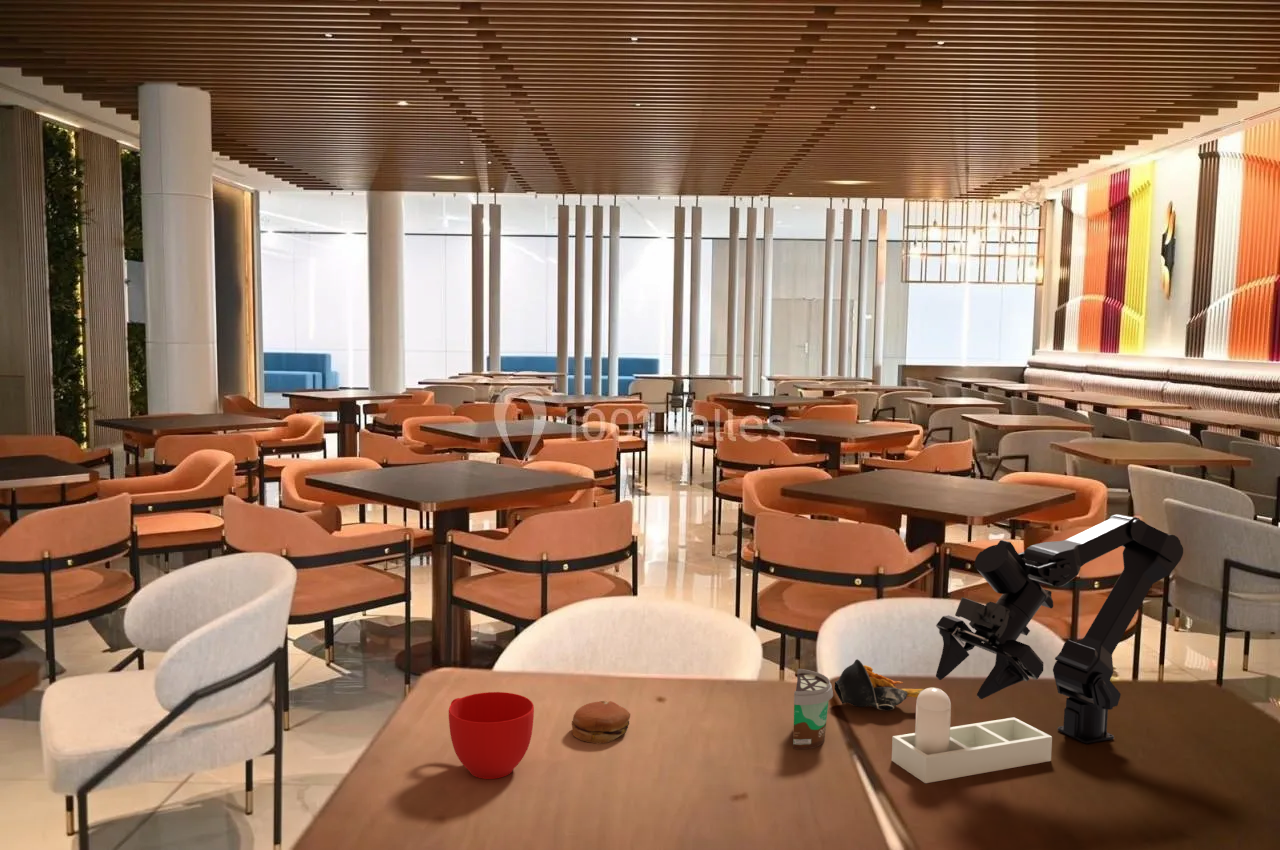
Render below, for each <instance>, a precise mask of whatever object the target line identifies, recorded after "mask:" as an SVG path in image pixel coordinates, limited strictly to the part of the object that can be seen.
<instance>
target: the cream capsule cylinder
mask: <svg viewBox="0 0 1280 850" xmlns="http://www.w3.org/2000/svg"><path fill="white" fill-rule="evenodd" d="M923 689H924V688H923ZM915 702H916V705H915V725H914V726H915V727H914V731H915V732H914V733H915V748H917V749H919V750H920V751H922V752H923V753H925V754H927V755H930V754H936V753H942V752H948V751H949V743H950V727H951V718H952V717H951V716H952V712H951V711H952V709H951V708H952V703H951V699H950V696H948V694H947V693H946V692H945V691H943V690H942V689H941V688H938V687H934V686H933V687H927V688H925V689H924V690H923V691H922V692H921V693H920V694H919V695H918V697H917V698H916V701H915Z"/></svg>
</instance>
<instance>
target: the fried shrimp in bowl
mask: <svg viewBox="0 0 1280 850" xmlns="http://www.w3.org/2000/svg"><path fill="white" fill-rule="evenodd" d="M873 670H874V669H873V668H872V667H871V666H869V665H864V664H863V663H862V661H860V660H859V659H855V660H854V662H853V663H852V664H851V665H849V666H847V667H845V668H844V670H843V671H842V672H841V675H840V676H839V678H838V680H836V681H834V690H835V693H836V696H837V697H838V699H839V700H840V702H841V704H842V705H843V704H848V705H849V704H850V705H852V706H854V707H859V708H867V707H872V708H875V709H876V710H880V711H892V710H894V709H895V707H896V706H898V705H900V704H902V703H903V702H904V701H905V700H906V699H907V698H908V697H911V698H915V699H917V697H918V695H919V694H920V693H921V692H922V691H923V690H924V688H900V687H897V686H896V685H900V684H903V683H904V682H903V681H900V680H892V679H890V678H888V677H886V676H883V675H881V674H879V673H875V672H873Z"/></svg>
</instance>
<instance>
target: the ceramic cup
mask: <svg viewBox="0 0 1280 850" xmlns="http://www.w3.org/2000/svg"><path fill="white" fill-rule="evenodd" d="M534 713H535V706H534V703H533V702H532V700H530V698H528V697H525V696H523V695H520V694H517V693H512V692H504V691H503V692H501V691H488V692H480V693H473V694H470V695H466V696H463V697H457V698H454V699H453V700H451V703H450V705H449V708H448V724H449V725H448V726H449V733H450V739H451V743H452V747H453V750H454V752H455V755H456V756H457V759H458V760H459V762H460V763H461V764H462V765H463V766H464V768H465V769H466V770H468V771H469V773H470V774H471V775H472V776H473V777H476V778H479V779H484V780H485V779H486V780H493V779H494V780H495V779H499V778H500V779H501V778H503V777H504V778H505V777H506V776H508V775H510V774H511V773H513V771H514V769H515V768H516V767H517V766H518V765H519V764H520V763H521V761H522V760H523V758H524V757H525V755H526V753H527V751H528V748H529V746H530V744H531V739H532V735H533V727H534V717H535V714H534Z"/></svg>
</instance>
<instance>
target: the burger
mask: <svg viewBox="0 0 1280 850" xmlns="http://www.w3.org/2000/svg"><path fill="white" fill-rule="evenodd" d="M630 718H631V713H630V711H628V709H626V708H624V707H623V706H621V705H619V704H617V703H616V702H614V701H611V700H610V701H606V700H602V701H601V700H600V701H593V702H589V703H586V704H584V705H582V706H580V707H579V708H578V709H577V710H575V712H574V714H573V718H572V720H571V727H572V728H571V729H572V730H571V732H572V733H571V734H572V736H573V737H575V738H576V739H578V740H580V741H583V742H586V743H593V744H606V743H610V742H612V741H615V740H616V739H617V738H619V737H621V736H622V735H624V734H625V733H627V731H628V728H629V725H630Z"/></svg>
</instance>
